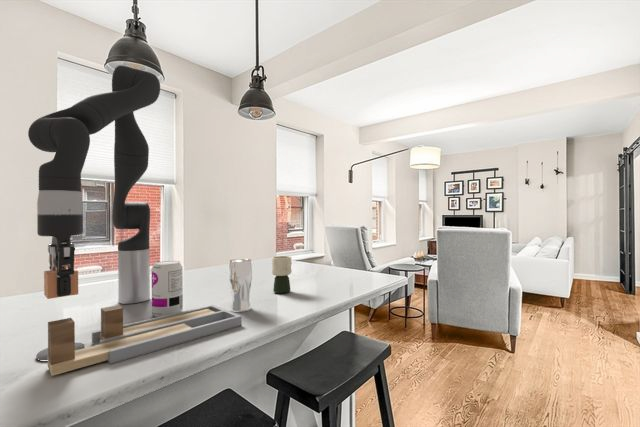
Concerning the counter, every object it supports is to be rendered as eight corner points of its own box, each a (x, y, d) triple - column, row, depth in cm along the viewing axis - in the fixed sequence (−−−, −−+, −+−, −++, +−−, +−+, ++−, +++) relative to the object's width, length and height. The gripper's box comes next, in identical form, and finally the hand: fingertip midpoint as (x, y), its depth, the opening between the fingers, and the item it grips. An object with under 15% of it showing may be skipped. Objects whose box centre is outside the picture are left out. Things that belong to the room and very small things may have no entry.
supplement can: (151, 320, 90) (151, 265, 89) (151, 312, 97) (151, 261, 97) (183, 315, 93) (183, 263, 93) (181, 308, 101) (181, 259, 101)
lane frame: (91, 342, 74) (91, 332, 74) (212, 313, 95) (212, 304, 95) (110, 364, 63) (109, 351, 63) (241, 325, 85) (241, 316, 85)
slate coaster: (34, 353, 69) (34, 350, 69) (80, 342, 74) (80, 339, 74) (38, 365, 63) (38, 362, 63) (88, 352, 69) (88, 349, 69)
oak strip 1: (47, 365, 62) (47, 320, 62) (183, 329, 81) (183, 295, 81) (51, 375, 58) (51, 327, 58) (193, 335, 77) (193, 299, 77)
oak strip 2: (100, 340, 74) (99, 307, 74) (207, 314, 93) (207, 287, 93) (106, 347, 70) (106, 312, 70) (217, 318, 89) (217, 290, 89)
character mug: (298, 293, 118) (298, 257, 118) (281, 297, 113) (281, 259, 113) (282, 288, 126) (282, 254, 126) (266, 291, 122) (265, 256, 122)
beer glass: (246, 313, 95) (246, 262, 95) (224, 312, 96) (224, 261, 96) (255, 306, 102) (255, 258, 102) (235, 305, 103) (234, 258, 103)
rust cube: (73, 290, 72) (73, 268, 72) (78, 294, 69) (78, 270, 69) (44, 294, 69) (44, 271, 69) (47, 298, 65) (47, 274, 65)
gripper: (90, 212, 66) (90, 295, 66) (75, 213, 76) (76, 285, 76) (42, 212, 61) (42, 303, 61) (33, 213, 71) (34, 291, 71)
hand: (61, 292), depth 69 cm, fingers closed on rust cube, 5 cm apart
